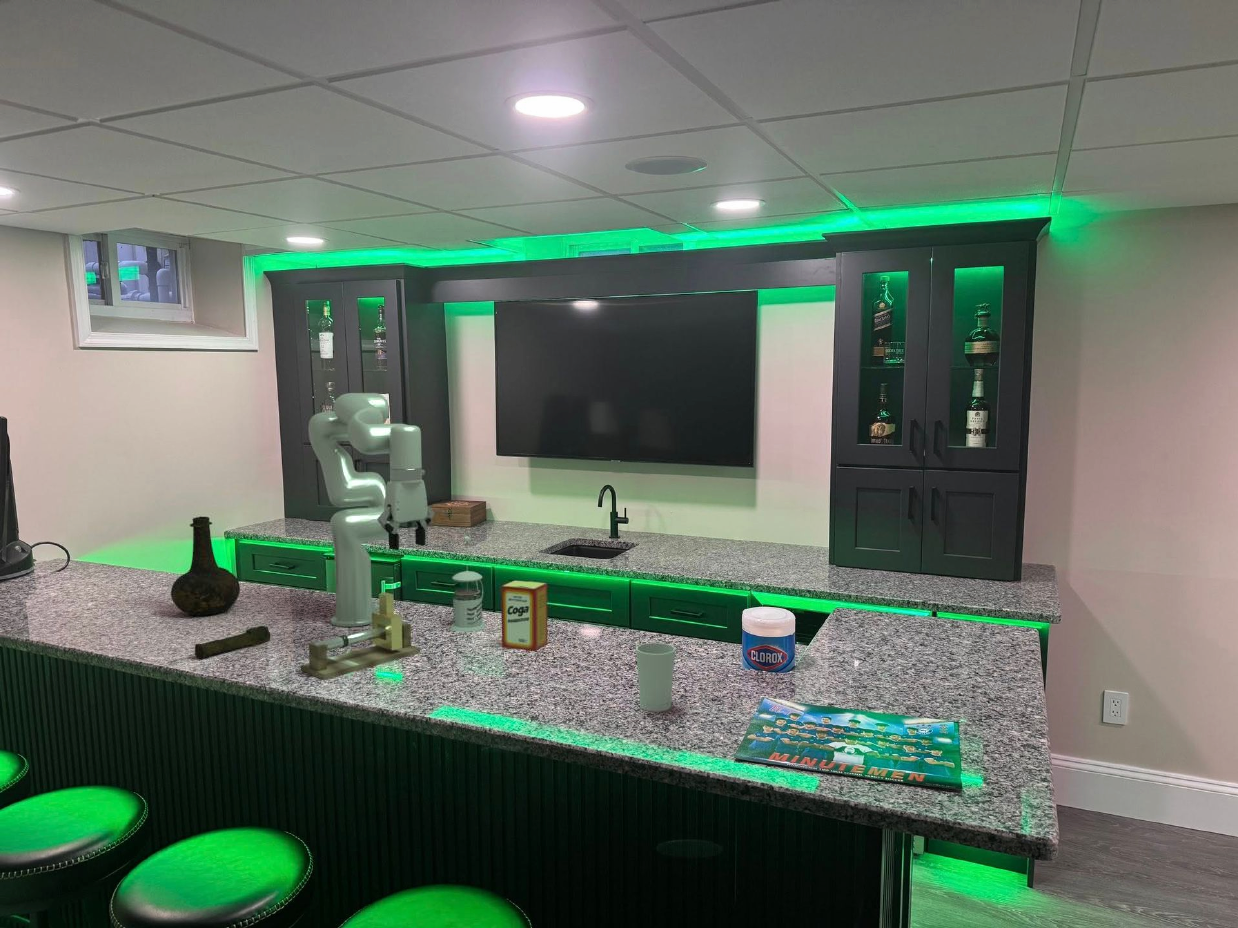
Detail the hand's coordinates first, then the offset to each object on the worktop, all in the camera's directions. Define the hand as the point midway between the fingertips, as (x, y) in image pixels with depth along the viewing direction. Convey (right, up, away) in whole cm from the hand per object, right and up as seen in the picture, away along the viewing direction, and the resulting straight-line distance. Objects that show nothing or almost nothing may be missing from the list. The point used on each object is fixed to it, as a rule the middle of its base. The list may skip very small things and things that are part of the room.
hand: (407, 546), depth 211 cm
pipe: (-9, -22, -9) cm, 25 cm away
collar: (-4, -24, -3) cm, 24 cm away
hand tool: (-44, -26, +2) cm, 51 cm away
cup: (+60, -29, -37) cm, 76 cm away
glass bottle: (-68, -23, +38) cm, 81 cm away
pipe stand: (-9, -27, -8) cm, 29 cm away
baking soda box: (+29, -26, +5) cm, 39 cm away
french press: (+11, -24, +23) cm, 35 cm away
